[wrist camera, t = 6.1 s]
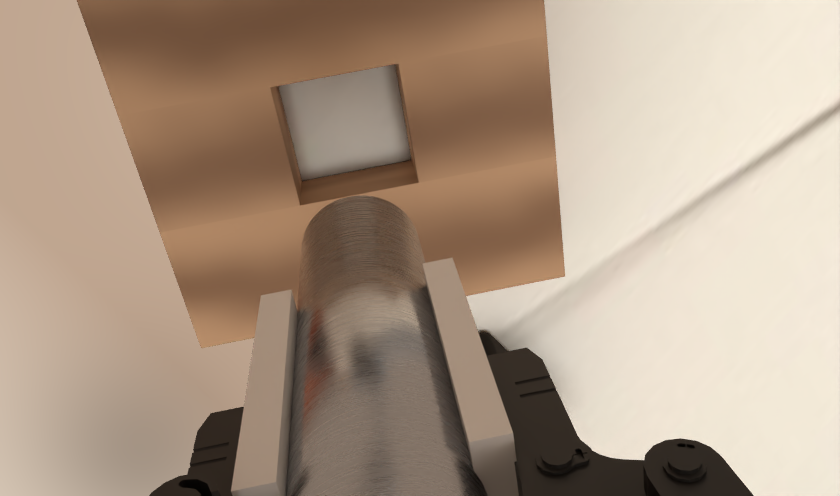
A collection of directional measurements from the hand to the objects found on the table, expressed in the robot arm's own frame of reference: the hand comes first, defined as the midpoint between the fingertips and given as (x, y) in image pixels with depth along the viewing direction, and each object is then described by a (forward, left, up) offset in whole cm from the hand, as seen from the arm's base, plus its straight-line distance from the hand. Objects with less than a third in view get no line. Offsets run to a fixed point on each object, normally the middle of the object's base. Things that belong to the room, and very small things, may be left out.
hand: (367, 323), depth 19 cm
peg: (0, 0, -4) cm, 4 cm away
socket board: (0, 0, -18) cm, 18 cm away
